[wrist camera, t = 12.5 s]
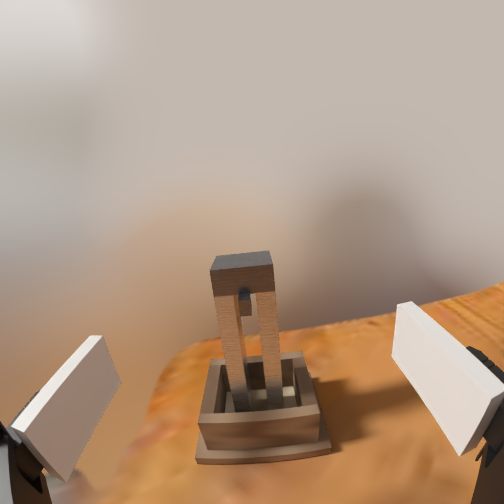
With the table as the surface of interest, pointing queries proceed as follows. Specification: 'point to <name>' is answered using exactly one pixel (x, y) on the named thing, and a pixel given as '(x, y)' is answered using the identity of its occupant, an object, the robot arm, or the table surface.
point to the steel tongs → (230, 324)
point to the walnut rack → (261, 417)
